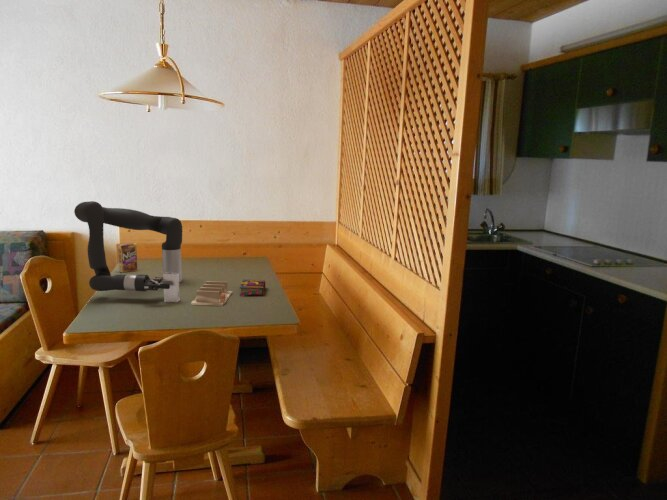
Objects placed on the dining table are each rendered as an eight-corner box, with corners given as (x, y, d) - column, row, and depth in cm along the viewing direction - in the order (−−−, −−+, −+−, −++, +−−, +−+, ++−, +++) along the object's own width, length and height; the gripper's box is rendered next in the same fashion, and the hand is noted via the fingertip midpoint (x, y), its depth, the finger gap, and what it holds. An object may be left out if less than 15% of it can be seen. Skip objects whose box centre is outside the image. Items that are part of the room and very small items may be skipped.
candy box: (122, 273, 282) (120, 245, 279) (118, 271, 285) (117, 244, 282) (138, 270, 288) (136, 243, 285) (134, 269, 291) (133, 242, 288)
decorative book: (265, 288, 260) (265, 278, 259) (263, 297, 244) (263, 287, 243) (242, 288, 259) (242, 278, 258) (239, 297, 244) (239, 286, 243)
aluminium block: (166, 300, 235) (165, 272, 233) (179, 300, 235) (178, 272, 233) (164, 301, 232) (163, 273, 230) (177, 302, 232) (176, 274, 230)
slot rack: (203, 292, 249) (203, 280, 248) (232, 293, 248) (232, 281, 247) (191, 304, 229) (190, 291, 228) (222, 305, 229) (222, 292, 228)
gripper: (129, 278, 225) (167, 279, 224) (142, 271, 239) (177, 272, 238) (130, 295, 226) (167, 296, 226) (143, 286, 240) (178, 287, 240)
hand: (172, 283), depth 232 cm, fingers open, 8 cm apart
